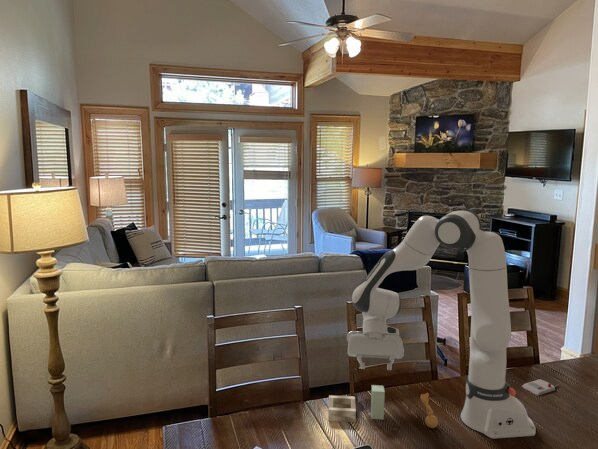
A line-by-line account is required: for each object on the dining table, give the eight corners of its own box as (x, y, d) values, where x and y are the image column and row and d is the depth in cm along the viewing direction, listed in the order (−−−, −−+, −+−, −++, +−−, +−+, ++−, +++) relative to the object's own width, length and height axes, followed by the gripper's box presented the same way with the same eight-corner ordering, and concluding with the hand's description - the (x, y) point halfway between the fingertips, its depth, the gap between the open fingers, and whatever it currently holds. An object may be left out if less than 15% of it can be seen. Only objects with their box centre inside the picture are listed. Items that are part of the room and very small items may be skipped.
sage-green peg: (382, 412, 151) (383, 385, 150) (383, 419, 147) (384, 391, 146) (370, 412, 152) (371, 385, 150) (371, 418, 148) (372, 391, 146)
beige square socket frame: (354, 407, 155) (354, 396, 154) (355, 422, 146) (355, 411, 145) (328, 405, 155) (329, 395, 155) (328, 421, 147) (328, 409, 146)
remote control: (518, 389, 167) (518, 382, 167) (546, 380, 174) (546, 373, 173) (533, 398, 161) (534, 390, 161) (562, 389, 168) (562, 381, 167)
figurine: (442, 434, 139) (443, 399, 137) (423, 435, 139) (424, 400, 137) (432, 419, 147) (434, 386, 146) (415, 419, 147) (416, 386, 145)
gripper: (346, 327, 163) (346, 364, 154) (403, 329, 161) (406, 367, 153) (346, 334, 168) (346, 370, 160) (401, 336, 166) (403, 373, 158)
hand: (376, 369), depth 156 cm, fingers open, 8 cm apart
